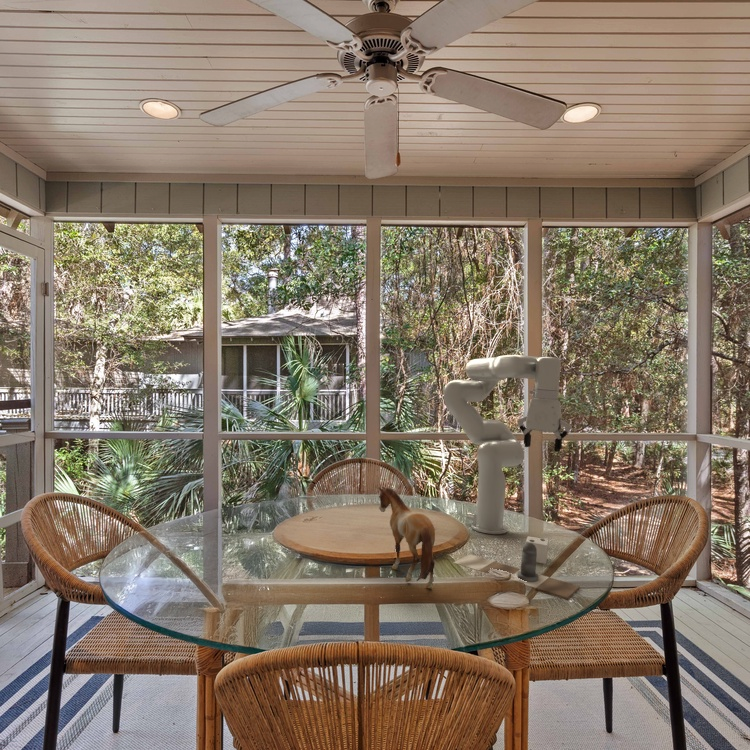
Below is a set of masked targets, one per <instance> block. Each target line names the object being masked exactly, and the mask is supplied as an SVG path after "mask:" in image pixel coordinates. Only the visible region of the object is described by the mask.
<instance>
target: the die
mask: <svg viewBox="0 0 750 750" xmlns="http://www.w3.org/2000/svg"><path fill="white" fill-rule="evenodd" d="M526 543H532V544H534V545H535V547H536V549H537V551H536V552H537V558H536V563H540V564H544V565H546V564H547V561H548V554H549V553H548V551H549V539H546V538H541V537H540V538H539V537H535V536H527V537H526V540H525V544H526Z"/></svg>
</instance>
